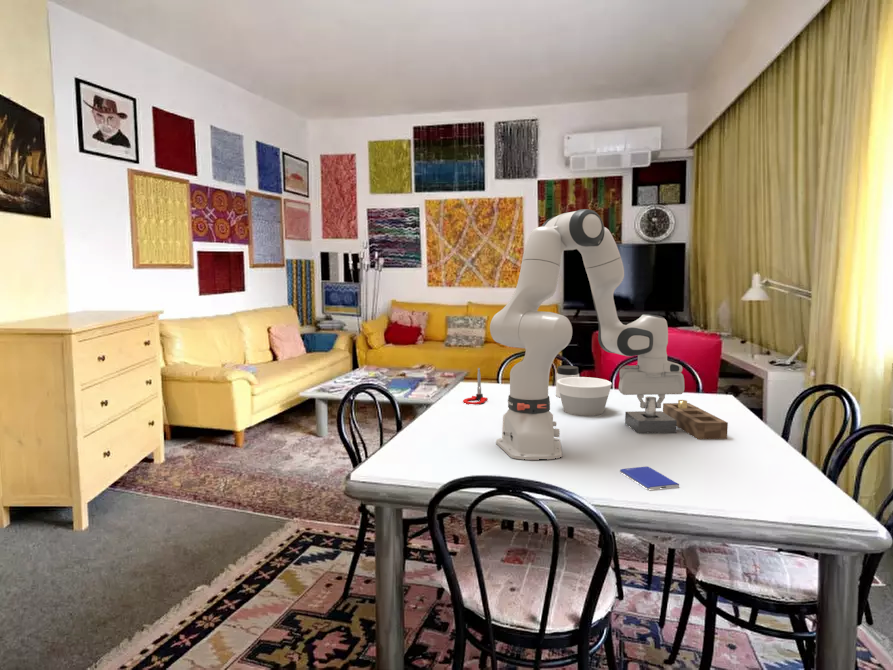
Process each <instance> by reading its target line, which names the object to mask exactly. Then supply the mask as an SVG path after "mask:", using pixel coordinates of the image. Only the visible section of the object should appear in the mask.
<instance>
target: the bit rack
mask: <svg viewBox="0 0 893 670" xmlns="http://www.w3.org/2000/svg"><path fill="white" fill-rule="evenodd" d="M662 403H663V404H662V412H663V413H665V414H667V415H668V416H670V417H672V418H673V419H675V420H677V425H676V428H679V429H680V428H681V429H680V430H682V431H683V430H684V432H685V433H687V434H688V433H689V436H691V435H692V436H691V437H693V436H694V437H693V438H695V439H696V438H697V439H696V440H727V439H728V428H729V427H728V426H729V425H728V424H729V423H728V422H727V421H725V420H724V419H721V418H719V417H717V416H715V415H713V414H711V413H709V412H708V411H706V410H704V409H701V408H699V407H698V406H696V405H694V404H692V403H690V402H687V408H678V402H671V403H670V402H668V403H667V402H665V403H664V402H662Z"/></svg>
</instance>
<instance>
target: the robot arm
mask: <svg viewBox="0 0 893 670" xmlns="http://www.w3.org/2000/svg"><path fill="white" fill-rule="evenodd" d="M574 250H577V251H578V252H579V253H580V254H581V257H582V261H583V266H584V268H585V272H586V274H587V278H588V281H589V286H590V290H591V292H590V293H591V296H592V297H591V298H592V300H593V306H594V310H595V314H596V318H597V323H598V333H597V340H598V344H599V346H600V348H601V349H602V350H603V351H605V352H607V353H610V354H617V355H620V356H623V357H624V356H625V357H635V356H636V357H637V365H635V364H634V365H627V364H626V365H624V366H621V368H620V369H619V373H618V374H619V376H618V377H619V382H618V391H619V393H620V394H622V395H623V396H630V395H631V396H636V397H637V400H638V401H639V404H640V405H639V407H640V408H641V409H645V408H647V403H646V402H645V400H644V395H645V396H647V395H650V396H651V395H652V396H653V395H655V396H656V395H657V396H658V399H657V400H656V409H661V408H662V403H663V402H664V400H665V399H666V398H665V397H666V395H682V394H683V393H684V392H685V378H684V374H683V373H682V372H683V369H684V368H683V366H682V365H681V364H679V363H676V362H673V361H671V360H668V354H667V353H668V352H667V346H668V344H669V327H668V321H667V320H666V319H665V317H663V316H660V315H655V314H650V313H649V314H648V313H647V314H646V313H645V314H642V315H641V316H640V317H639V318H637V319H636V320H634V321H631V322H629V323H627V324H623V323H622V321H620V319H619V317H618V313H617V307H616V304H615V299H614V294H615V293H614V292H615V291H616V290H617V288H618V287H619V286H620V285H621V284H622V282H623V280H624V278H625V268H624V263H623V260H622V256H621V254H620V251H619V248H618V245H617V243H616V241H615V239H614V236H613V235H612V233H611V231H610V230H609V229H608V228H607V227H605V225H604V222H603V219H602V218H601V217H600V215H599V214H598V213H597V212H596V211H595V210H594V209H593V210H592V209H588V208H587V209H586V208H585V209H583V208H582V209H581V208H580V209H578V210H575V211H570V212H564V213H561V214H558V215H557V216H553V217H551V218H548V219H546V221H545V222H543V224H542V225H541V226H538V227H536V228H533V229H532V230H531V231H530V233H529V235H528V238H527V240H526V244H525V247H524V250H523V254H522V259H521V265H520V271H519V276H518V279H517V284H516V287H515V290H514V293H513V294H512V296H511V298H510V299H509V300H508V302H507V303H506V305H505V306H504V307H503V308H502V309H501V310H499V311H498V312H497V313H495V314H494V315H493V317H492V319H491V321H490V324H489V331H490V336H491V338H492V339H493V341H494V342H495V343H497V344H500V345H503V346H506V347H509V348H516V349H525V353H524V357H523V359H522V360H521V361H519V362H517V363H515V364H514V366H512V367H511V369H510V372H509V395H507V396H508V399H507V408H508V409H507V411H506V412H505V413H504V414H503V415H502V428H501V429H502V432H501V438H497V439H496V440H495V441H496V442H495V443H496V445H497V446H498V447H500V449H501V450H502V451H503V452H505V453H506V454H507V455H508V456H509V457H510V458H512V459H514V460H515V459H516V460H524V459H525V461H528V460H529V461H530V460H531V461H540V460H539V459H547V460H556V459H560V457H561V458H562V457H563V452H562V445H561V439H560V435H561V434H560V432H561V430H560V429H559V428H554V427H556V426H557V421H554V414H553V413H552V412H551V411H550V410H551V401H550V400H551V399H550V396H549V385H550V384H549V381H550V372H551V368H552V365H553V362H554V360H555V358H556V357H557V355H559V354H560V352H561V351H563V350H564V349H565V348H566V347H568V345H569V344H570V343H571V340H572V338H573V337H572V336H573V326H572V323H571V322H570V319H569V318H568V317H567V316H565V315H562V314H559V313H556V312H553V311H539V308H540V306H541V305H542V304H543V303H544V302H545V301H547V300H550V298H552V297H553V296H554V295H555V293H556V291H557V285H558V281H559V274H560V269H561V267H560V266H561V259H562V255H563V253H564V251H574ZM555 458H556V459H555Z"/></svg>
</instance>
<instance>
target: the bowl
mask: <svg viewBox="0 0 893 670" xmlns="http://www.w3.org/2000/svg"><path fill="white" fill-rule="evenodd" d="M557 384H558V388H559V392H560V396H561V398H560V399H561V405H562V409H563V411H564V412H565V413H567V414H570V415H574V416H584V417H586V416H587V417H588V416H590V417H591V416H599V415H602V414H603V413H604V412H605V409H606V405H607V402H608V399H609V398H608V397H609V395H610V392H611V388H612V384H613V383H612V382H611V380H610V381H609V380H607V379H605V378H598V377H590V376H589V377H587V376H579V377H568V378H562V379H559V380H558V381H557Z"/></svg>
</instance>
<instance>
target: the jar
mask: <svg viewBox="0 0 893 670" xmlns="http://www.w3.org/2000/svg"><path fill="white" fill-rule="evenodd" d="M556 369H557V373H555V374H556V380H555V396H556V397H557V398H560V399H561V396H560V392H559V388H558V384H557V381H558V380H559V379H562V378H568V377H580V373H579V367H578V366H575V365H559V366H557V368H556Z"/></svg>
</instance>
